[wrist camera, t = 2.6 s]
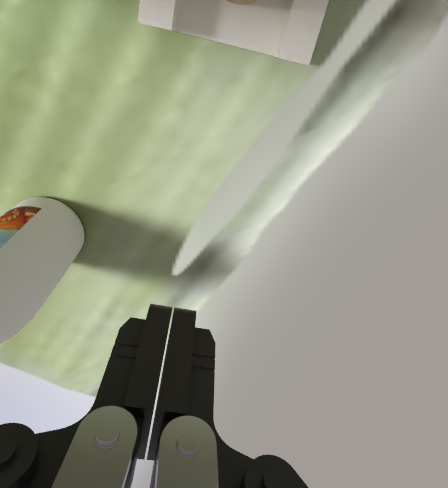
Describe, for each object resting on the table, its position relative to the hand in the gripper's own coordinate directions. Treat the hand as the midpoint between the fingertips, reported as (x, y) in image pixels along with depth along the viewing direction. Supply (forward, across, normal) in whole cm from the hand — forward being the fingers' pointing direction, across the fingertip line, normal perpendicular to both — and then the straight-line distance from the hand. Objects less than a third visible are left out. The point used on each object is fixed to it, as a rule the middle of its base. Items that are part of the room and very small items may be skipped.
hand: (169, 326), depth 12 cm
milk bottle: (+25, +14, +14) cm, 32 cm away
